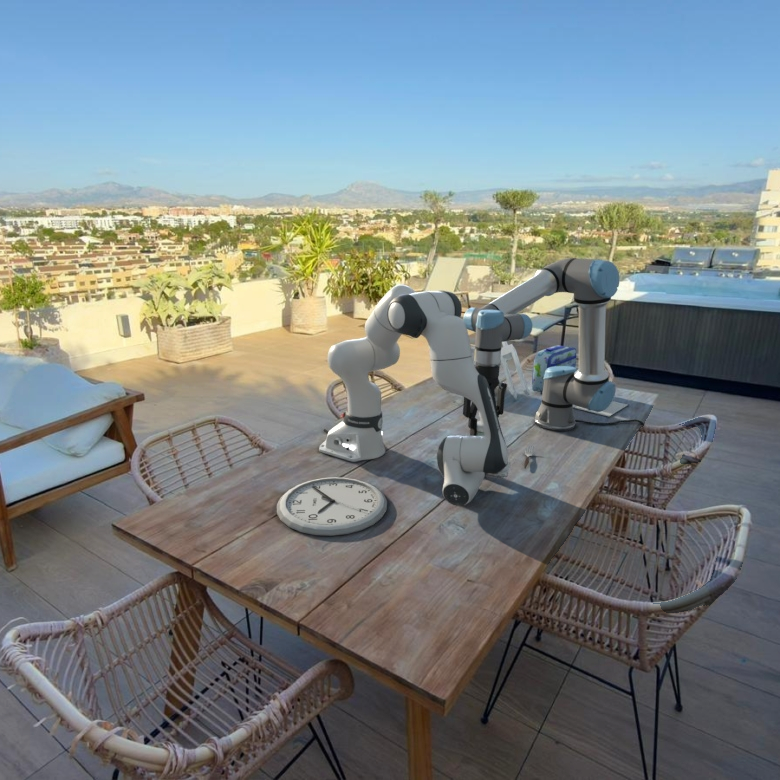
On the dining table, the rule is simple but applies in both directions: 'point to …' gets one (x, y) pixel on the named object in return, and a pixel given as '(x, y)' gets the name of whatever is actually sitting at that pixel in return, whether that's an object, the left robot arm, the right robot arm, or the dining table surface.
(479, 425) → the lid
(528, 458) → the fork
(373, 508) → the wall clock
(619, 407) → the invitation card
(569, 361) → the lunch box
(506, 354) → the white plastic object
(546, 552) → the dining table surface
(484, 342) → the right robot arm
